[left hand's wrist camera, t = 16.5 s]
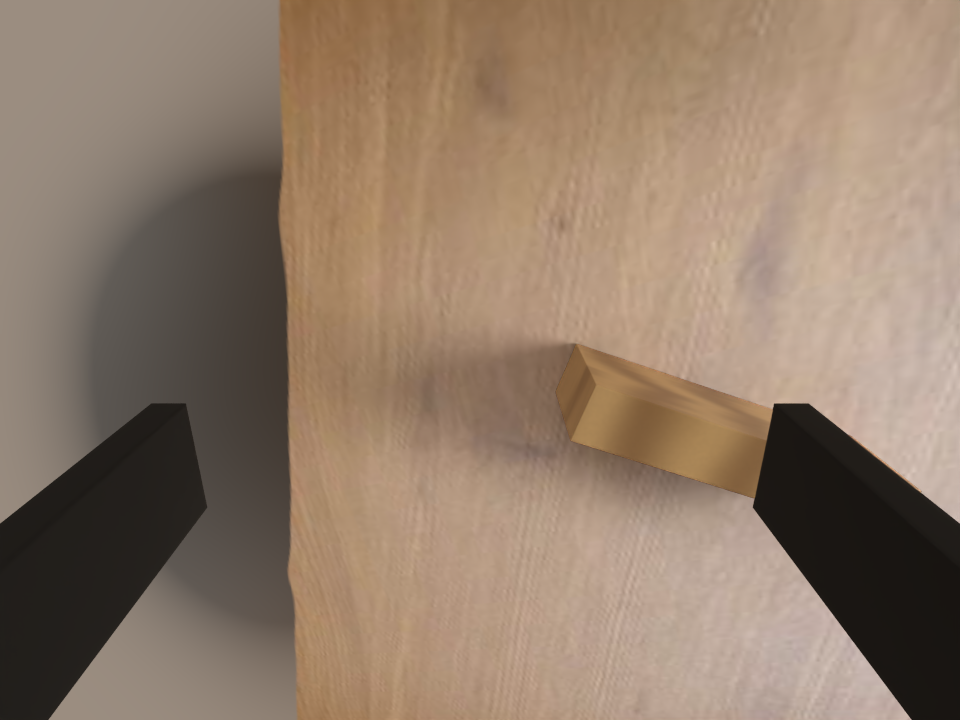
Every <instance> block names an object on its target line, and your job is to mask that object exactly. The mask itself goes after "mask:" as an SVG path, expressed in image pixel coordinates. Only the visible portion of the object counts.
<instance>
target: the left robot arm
mask: <svg viewBox="0 0 960 720" xmlns="http://www.w3.org/2000/svg"><path fill="white" fill-rule="evenodd" d="M206 508H207V504H206V500H205V495H204V490H203V485H202V480H201V475H200V470H199V465H198V461H197V456H196V451H195V446H194V441H193V436H192V431H191V427H190V422H189V417H188V412H187V407H186V404H150V405H149V406H148V407H147V408H145V409H144V410H143V411H141V412H140V413H139V414H138V415H137V416H135V417H134V418H133V419H131V420H130V421H129V422H128V423H126V424H125V425H124V426H123V427H121V428H120V429H119V430H118V431H116V432H115V433H114V434H113V435H111V436H110V437H109V438H108V439H106V440H105V441H104V442H102V443H101V444H100V445H99V446H97V447H96V448H95V449H94V450H92V451H91V452H90V453H89V454H87V455H86V456H85V457H84V458H82V459H81V460H80V461H79V462H77V463H76V464H75V465H73V466H72V467H71V468H70V469H68V470H67V471H66V472H65V473H63V474H62V475H61V476H60V477H58V478H57V479H56V480H55V481H53V482H52V483H51V484H50V485H48V486H47V487H46V488H44V489H43V490H42V491H41V492H39V493H38V494H37V495H36V496H34V497H33V498H32V499H31V500H29V501H28V502H27V503H26V504H24V505H23V506H22V507H21V508H19V509H18V510H17V511H16V512H14V513H13V514H12V515H11V516H9V517H8V518H7V519H5V520H4V521H3V522H2V523H0V720H48V719H49V718H50V717H51V715H52V714H53V713H54V711H55V710H56V709H57V707H58V706H59V705H60V703H61V702H62V701H63V699H64V698H65V697H66V695H67V694H68V693H69V691H70V690H71V689H72V687H73V686H74V685H75V683H76V682H77V681H78V679H79V678H80V677H81V675H82V674H83V673H84V671H85V670H86V669H87V667H88V666H89V665H90V663H91V662H92V661H93V659H94V658H95V657H96V655H97V654H98V653H99V651H100V650H101V649H102V647H103V646H104V645H105V643H106V642H107V641H108V639H109V638H110V637H111V635H112V634H113V633H114V631H115V630H116V629H117V627H118V626H119V624H120V623H121V622H122V621H123V619H124V618H125V617H126V615H127V614H128V613H129V611H130V610H131V608H132V607H133V606H134V605H135V603H136V602H137V601H138V599H139V598H140V597H141V595H142V594H143V592H144V591H145V590H146V588H147V587H148V586H149V584H150V583H151V582H152V580H153V579H154V578H155V576H156V575H157V574H158V572H159V571H160V570H161V568H162V567H163V566H164V564H165V563H166V562H167V560H168V559H169V558H170V556H171V555H172V554H173V552H174V551H175V550H176V548H177V547H178V546H179V544H180V543H181V542H182V540H183V539H184V538H185V536H186V535H187V534H188V532H189V531H190V530H191V528H192V527H193V526H194V524H195V523H196V522H197V520H198V519H199V518H200V516H201V515H202V514H203V512H204V511H205V510H206ZM753 508H754V510H755V511H756V512H757V514H758V515H759V516H760V518H761V519H762V520H763V522H764V523H765V524H766V526H767V527H768V528H769V530H770V531H771V532H772V534H773V535H774V536H775V538H776V539H777V540H778V542H779V543H780V544H781V546H782V547H783V548H784V550H785V551H786V552H787V554H788V555H789V556H790V558H791V559H792V560H793V562H794V563H795V564H796V566H797V567H798V568H799V570H800V571H801V572H802V574H803V575H804V576H805V578H806V579H807V580H808V582H809V583H810V584H811V586H812V587H813V588H814V590H815V591H816V592H817V594H818V595H819V597H820V598H821V599H822V601H823V602H824V603H825V605H826V606H827V607H828V609H829V610H830V611H831V613H832V614H833V615H834V617H835V618H836V619H837V621H838V622H839V623H840V625H841V626H842V627H843V629H844V630H845V631H846V633H847V634H848V635H849V637H850V638H851V639H852V641H853V642H854V643H855V645H856V646H857V647H858V649H859V650H860V651H861V653H862V654H863V655H864V657H865V658H866V659H867V661H868V662H869V663H870V665H871V666H872V667H873V669H874V670H875V671H876V673H877V674H878V675H879V677H880V678H881V679H882V681H883V682H884V683H885V685H886V686H887V687H888V689H889V690H890V691H891V693H892V694H893V695H894V697H895V698H896V699H897V701H898V702H899V703H900V705H901V706H902V707H903V709H904V710H905V711H906V713H907V714H908V715H909V717H910V718H911V719H912V720H960V523H958V522H957V521H956V520H955V519H953V518H952V517H951V516H950V515H948V514H947V513H946V512H944V511H943V510H942V509H941V508H939V507H938V506H937V505H936V504H934V503H933V502H932V501H931V500H929V499H928V498H927V497H926V496H924V495H923V494H922V493H921V492H919V491H918V490H917V489H916V488H914V487H913V486H912V485H910V484H909V483H908V482H907V481H905V480H904V479H903V478H902V477H900V476H899V475H898V474H897V473H895V472H894V471H893V470H892V469H890V468H889V467H888V466H887V465H885V464H884V463H883V462H882V461H880V460H879V459H878V458H876V457H875V456H874V455H873V454H871V453H870V452H869V451H868V450H866V449H865V448H864V447H863V446H861V445H860V444H859V443H858V442H856V441H855V440H854V439H853V438H851V437H850V436H849V435H847V434H846V433H845V432H844V431H842V430H841V429H840V428H839V427H837V426H836V425H835V424H834V423H832V422H831V421H830V420H829V419H827V418H826V417H825V416H824V415H822V414H821V413H820V412H819V411H817V410H816V409H815V408H813V407H812V406H811V405H810V404H774V407H773V412H772V417H771V422H770V426H769V431H768V436H767V441H766V446H765V451H764V456H763V461H762V465H761V470H760V475H759V480H758V485H757V490H756V495H755V499H754V504H753Z"/></svg>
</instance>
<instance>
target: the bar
mask: <svg viewBox="0 0 960 720" xmlns="http://www.w3.org/2000/svg"><path fill="white" fill-rule="evenodd" d="M556 395H557V398H558V401H559V405H560V408H561V411H562V415H563V418H564V421H565V424H566V428H567V431H568V434H569V438H570V441H573V442H576V443H579V444H582V445H586V446H589V447H592V448H595V449H598V450H602V451H605V452H608V453H611V454H614V455H618V456H621V457H624V458H627V459H630V460H633V461H637V462H640V463H643V464H646V465H649V466H653V467H656V468H659V469H662V470H665V471H669V472H672V473H675V474H678V475H681V476H684V477H688V478H691V479H694V480H697V481H700V482H704V483H707V484H710V485H713V486H716V487H720V488H723V489H726V490H729V491H732V492H736V493H739V494H742V495H745V496H748V497H751V498H755V495H756V490H757V485H758V480H759V475H760V470H761V465H762V461H763V456H764V451H765V446H766V441H767V436H768V431H769V426H770V422H771V417H772V412H773V410H772V409H769V408H766V407H764V406H761V405H758V404H755V403H752V402H749V401H746V400H743V399H740V398H737V397H734V396H731V395H728V394H725V393H722V392H719V391H716V390H713V389H710V388H707V387H704V386H701V385H698V384H695V383H692V382H689V381H686V380H683V379H680V378H677V377H674V376H671V375H668V374H665V373H662V372H659V371H656V370H653V369H650V368H647V367H644V366H641V365H638V364H636V363H633V362H630V361H627V360H624V359H621V358H618V357H615V356H612V355H609V354H606V353H603V352H600V351H597V350H594V349H591V348H588V347H585V346H582V345H579V344H576V346H575V348H574V350H573V353H572V355H571V357H570V360H569V362H568V364H567V366H566V369H565V371H564V373H563V376H562V378H561V380H560V383H559V385H558V387H557V390H556ZM849 436H850V435H849ZM850 437H851V438H853V437H852V436H850ZM853 439H854V440H855V441H856V442H858V441H857V440H856V439H855V438H853ZM858 443H859V444H860V445H861V446H863V445H862V444H861V443H860V442H858ZM863 447H864V448H865V449H866V450H868V449H867V448H866V447H865V446H863ZM868 451H869V452H870V453H871V454H873V455H874V456H875V457H876V458H878V459H879V460H880V461H882V460H881V459H880V458H879V457H877V456H876V455H875V454H874V453H872V452H871V451H870V450H868ZM882 462H883V463H884V464H885V465H887V466H888V467H889V468H890V469H892V470H893V471H894V472H895V473H897V474H898V475H899V476H900V477H902V478H903V479H904V480H905V481H907V482H908V483H909V484H910V485H912V486H913V487H914V488H916V489H917V490H918V491H919V492H921V491H920V490H919V489H918V488H917V487H915V486H914V485H913V484H912V483H910V482H909V481H908V480H907V479H905V478H904V477H903V476H901V475H900V474H899V473H898V472H896V471H895V470H894V469H893V468H891V467H890V466H889V465H888V464H886V463H885V462H884V461H882Z"/></svg>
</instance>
